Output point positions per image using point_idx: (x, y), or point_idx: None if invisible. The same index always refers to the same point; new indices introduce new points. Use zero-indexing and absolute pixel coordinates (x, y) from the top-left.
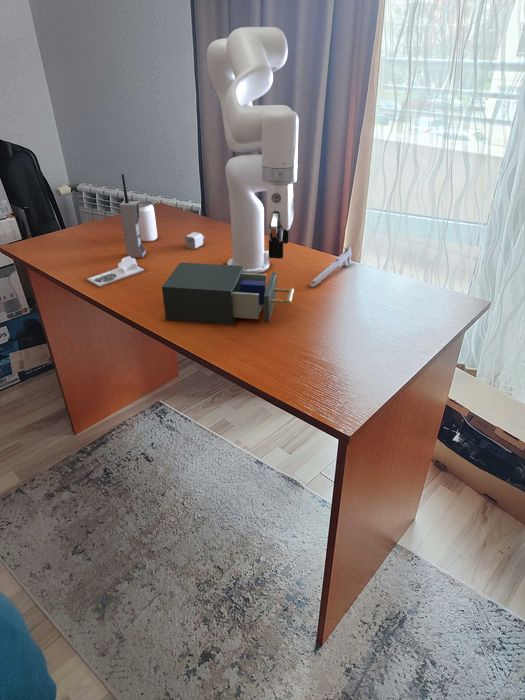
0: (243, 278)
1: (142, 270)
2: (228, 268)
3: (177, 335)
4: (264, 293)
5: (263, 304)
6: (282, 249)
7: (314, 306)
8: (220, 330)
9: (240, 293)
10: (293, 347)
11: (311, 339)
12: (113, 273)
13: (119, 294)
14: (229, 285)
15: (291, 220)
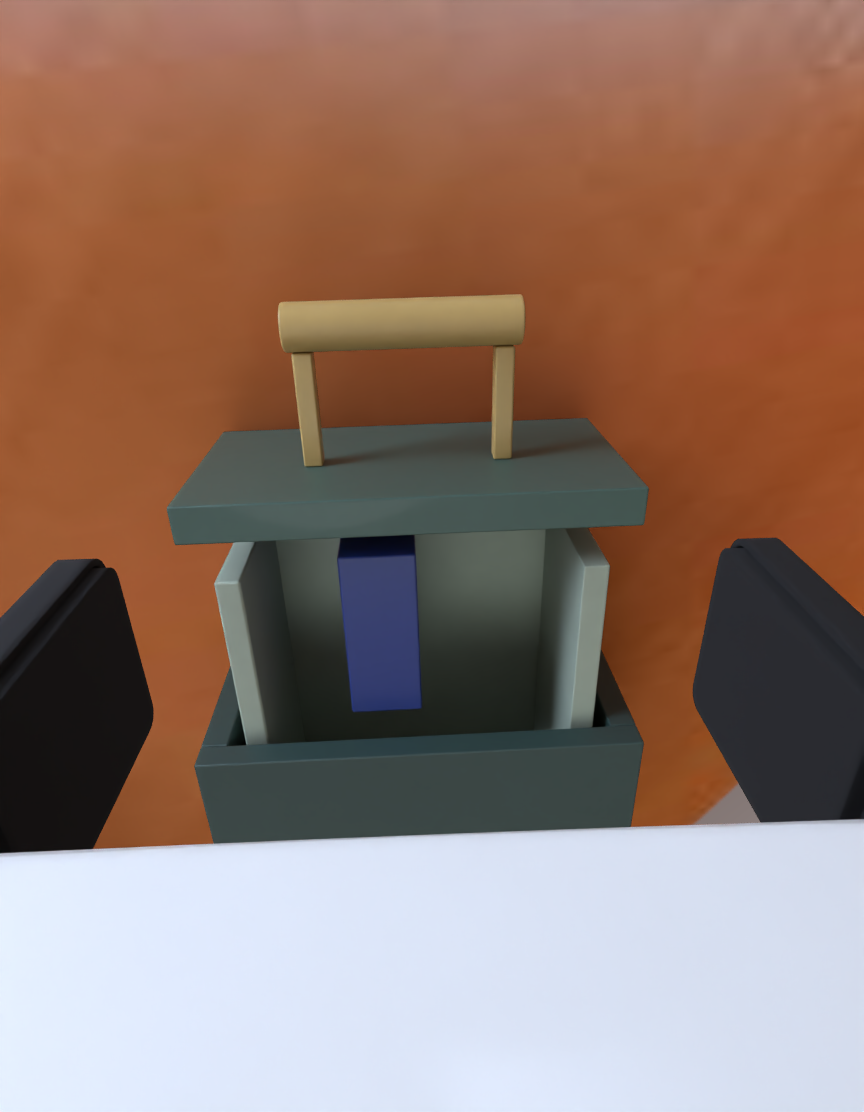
0: (272, 704)
1: None
2: (272, 836)
3: (686, 784)
4: None
5: None
6: (853, 612)
7: (228, 109)
8: (637, 641)
9: (592, 678)
10: (836, 206)
11: (742, 79)
12: None
13: None
14: (553, 771)
15: (519, 1015)
